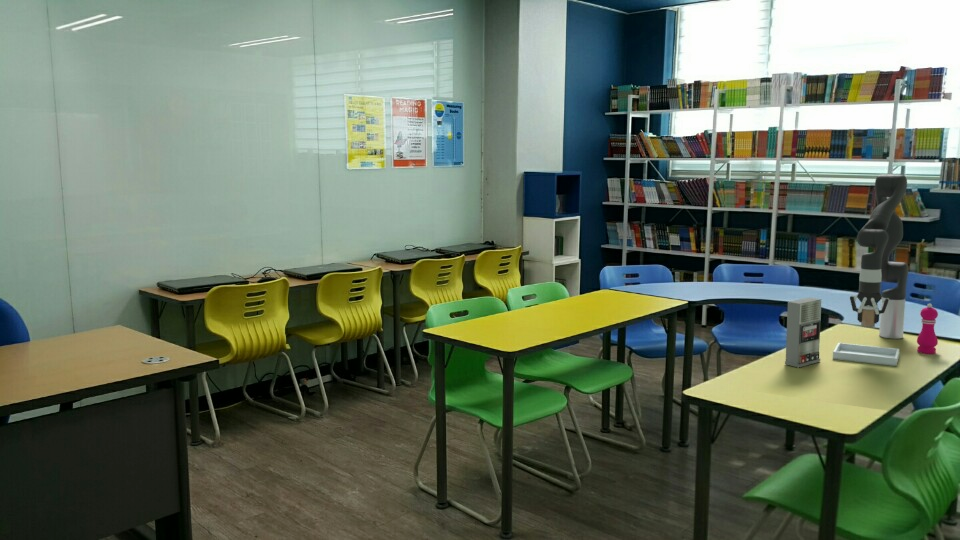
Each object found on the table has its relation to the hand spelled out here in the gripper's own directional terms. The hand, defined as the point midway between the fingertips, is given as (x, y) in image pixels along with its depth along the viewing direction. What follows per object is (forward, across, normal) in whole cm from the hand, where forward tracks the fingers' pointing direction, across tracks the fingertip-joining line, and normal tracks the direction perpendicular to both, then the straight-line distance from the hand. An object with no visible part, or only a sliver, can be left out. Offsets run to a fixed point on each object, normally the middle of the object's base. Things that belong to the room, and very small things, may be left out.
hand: (867, 322), depth 285 cm
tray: (+14, 0, 0) cm, 14 cm away
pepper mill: (+15, -20, -20) cm, 32 cm away
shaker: (+1, 0, 0) cm, 1 cm away
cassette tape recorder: (+15, +20, +20) cm, 32 cm away
